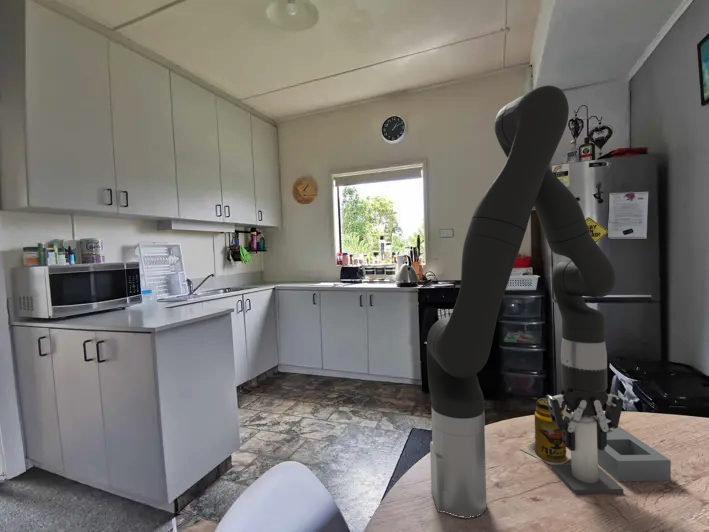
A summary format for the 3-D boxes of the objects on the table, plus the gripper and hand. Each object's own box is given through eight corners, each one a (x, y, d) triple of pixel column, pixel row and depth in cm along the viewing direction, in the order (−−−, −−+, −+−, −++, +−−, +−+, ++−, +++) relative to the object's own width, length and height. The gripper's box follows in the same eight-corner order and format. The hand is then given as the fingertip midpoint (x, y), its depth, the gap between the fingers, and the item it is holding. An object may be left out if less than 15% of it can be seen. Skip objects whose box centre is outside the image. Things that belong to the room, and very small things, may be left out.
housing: (618, 481, 69) (617, 461, 69) (567, 437, 86) (567, 420, 86) (670, 480, 69) (670, 460, 69) (609, 436, 86) (609, 420, 86)
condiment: (556, 468, 74) (555, 411, 74) (519, 449, 81) (518, 398, 81) (575, 457, 78) (574, 402, 77) (538, 440, 85) (537, 390, 85)
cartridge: (580, 483, 67) (578, 421, 67) (567, 469, 72) (565, 411, 71) (603, 482, 67) (601, 420, 67) (589, 468, 72) (587, 410, 71)
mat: (574, 493, 66) (573, 489, 66) (551, 468, 74) (551, 464, 74) (623, 493, 66) (623, 489, 66) (595, 467, 74) (595, 463, 74)
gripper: (556, 369, 66) (558, 459, 66) (635, 367, 65) (636, 458, 66) (536, 357, 73) (538, 439, 73) (607, 356, 73) (608, 438, 73)
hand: (584, 447), depth 70 cm, fingers open, 5 cm apart
